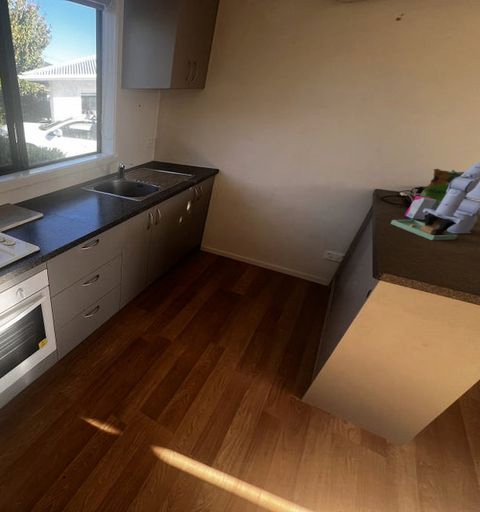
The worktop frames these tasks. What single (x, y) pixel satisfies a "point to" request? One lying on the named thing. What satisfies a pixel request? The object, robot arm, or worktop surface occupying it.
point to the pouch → (439, 185)
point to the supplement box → (419, 207)
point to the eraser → (431, 229)
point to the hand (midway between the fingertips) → (431, 232)
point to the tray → (405, 225)
